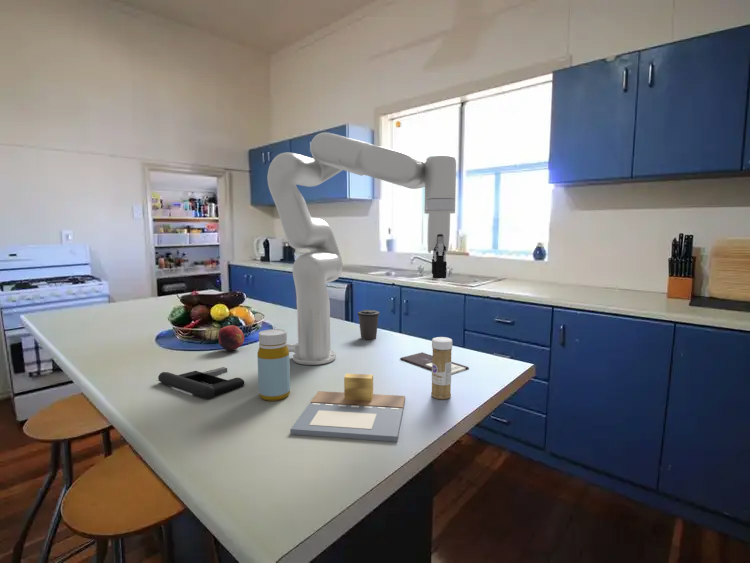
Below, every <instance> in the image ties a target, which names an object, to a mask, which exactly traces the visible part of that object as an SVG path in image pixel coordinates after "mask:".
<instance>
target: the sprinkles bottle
mask: <svg viewBox="0 0 750 563" xmlns="http://www.w3.org/2000/svg"><path fill="white" fill-rule="evenodd" d="M431 347H432V348H431V349H432V356H433V358H432V359H433V360H432V371H431V393H430V395H431V396H432V398H434V399H436V400H447V399H449V398H451V397H452V393H451V389H452V388H451V385H452V375H451V362H452V350H453V349H452V348H453V339H452V338H449V337H446V336H437V337H433V338H432V339H431Z"/></svg>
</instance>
